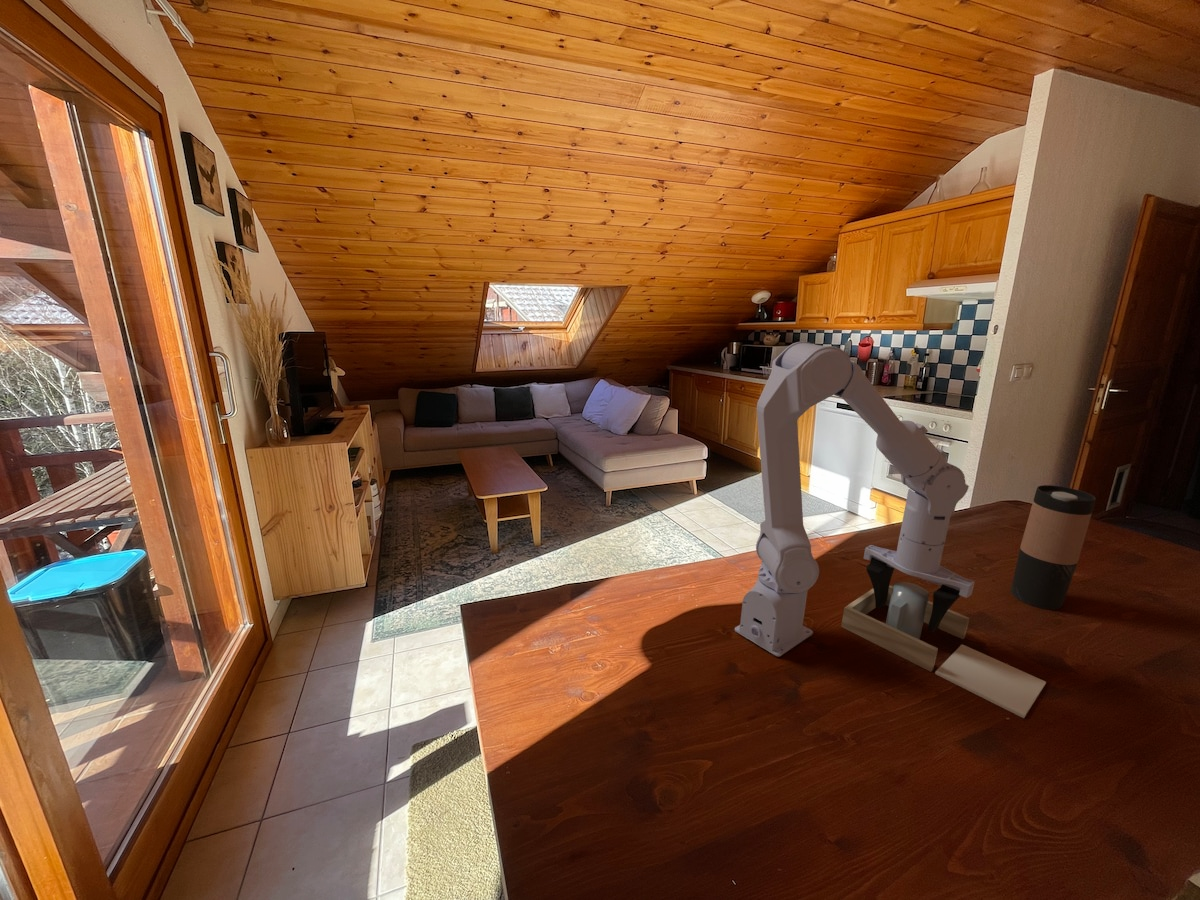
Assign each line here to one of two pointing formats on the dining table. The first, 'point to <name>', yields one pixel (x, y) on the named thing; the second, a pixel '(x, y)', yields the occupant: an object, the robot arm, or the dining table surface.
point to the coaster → (992, 680)
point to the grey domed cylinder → (907, 608)
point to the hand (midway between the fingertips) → (905, 616)
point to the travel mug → (1051, 545)
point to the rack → (895, 638)
